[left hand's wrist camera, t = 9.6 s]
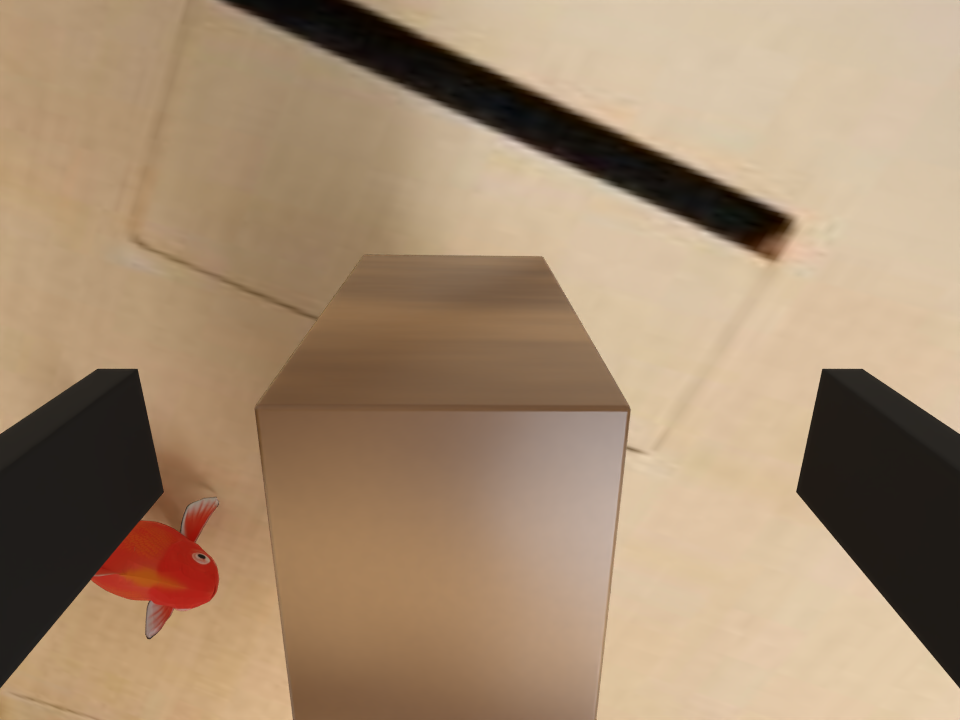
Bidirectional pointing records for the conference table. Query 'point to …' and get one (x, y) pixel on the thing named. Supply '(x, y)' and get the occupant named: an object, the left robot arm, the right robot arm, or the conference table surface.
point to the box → (444, 496)
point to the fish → (163, 566)
